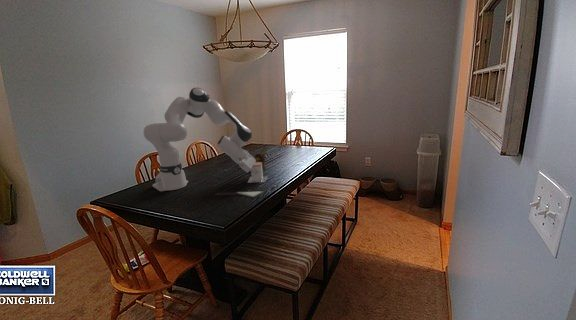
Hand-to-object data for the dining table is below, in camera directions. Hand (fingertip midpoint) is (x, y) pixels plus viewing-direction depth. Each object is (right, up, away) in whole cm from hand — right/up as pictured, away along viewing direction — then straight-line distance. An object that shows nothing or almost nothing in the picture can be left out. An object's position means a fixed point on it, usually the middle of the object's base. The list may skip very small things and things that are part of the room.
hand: (258, 171), depth 172 cm
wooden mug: (0, -1, +23) cm, 23 cm away
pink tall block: (0, -5, +1) cm, 5 cm away
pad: (-1, -11, -16) cm, 19 cm away
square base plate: (0, -6, +2) cm, 6 cm away
